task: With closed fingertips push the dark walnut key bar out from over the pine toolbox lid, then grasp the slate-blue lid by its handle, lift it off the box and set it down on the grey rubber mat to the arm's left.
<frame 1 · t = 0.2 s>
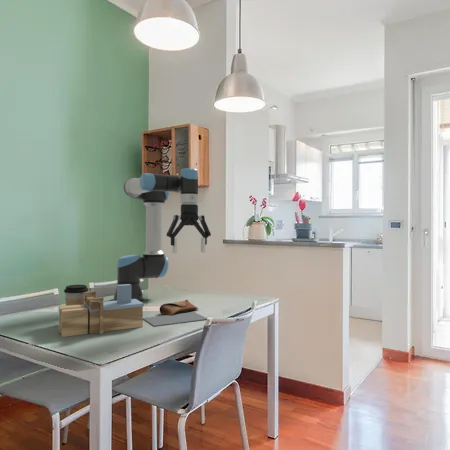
hand: (189, 252, 172), 28 cm above the table, fingers open, 13 cm apart
key: (91, 302, 151), point 11 cm above the table, slide at 0.0 cm
mat: (175, 319, 168), on the table
sunglasses case: (179, 311, 182), on the table, touching mat
toolbox: (113, 326, 155), on the table
lid: (113, 306, 155), point 8 cm above the table, touching toolbox
coffee cup: (76, 323, 161), on the table
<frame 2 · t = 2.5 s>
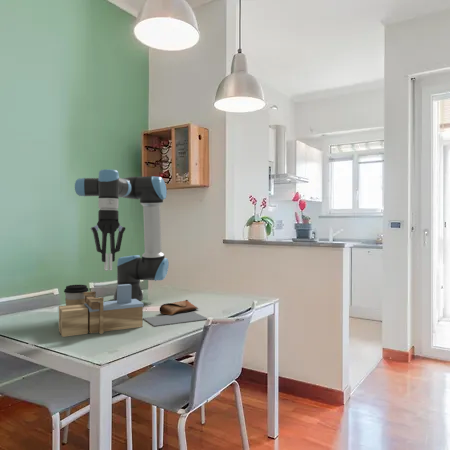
hand: (108, 270, 154), 22 cm above the table, fingers closed
nothing on the table moved.
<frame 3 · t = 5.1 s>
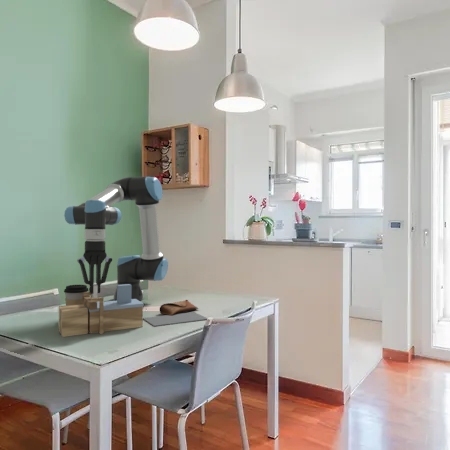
hand: (94, 301, 151), 11 cm above the table, fingers closed
key: (89, 302, 150), point 11 cm above the table, slide at 0.8 cm, touching gripper
everything else where it was.
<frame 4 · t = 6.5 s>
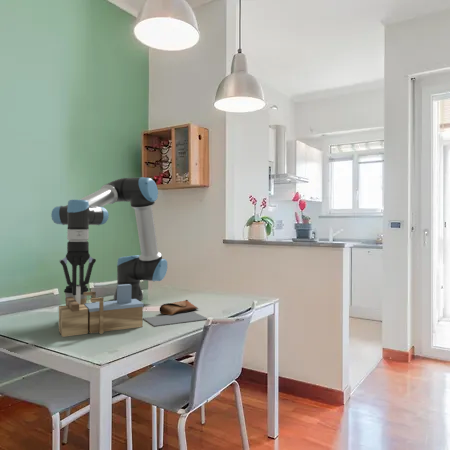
hand: (77, 303, 148), 10 cm above the table, fingers closed
key: (72, 303, 147), point 11 cm above the table, slide at 7.0 cm, touching gripper
everything else where it was.
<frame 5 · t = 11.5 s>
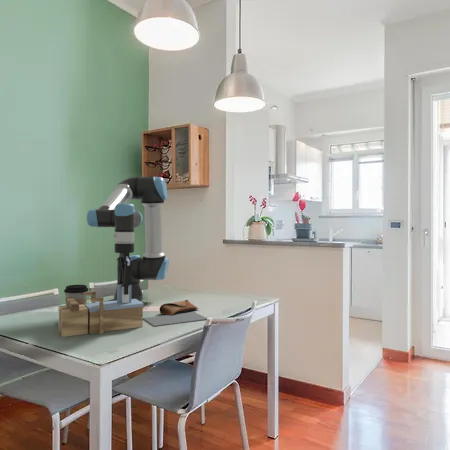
hand: (124, 301, 157), 10 cm above the table, fingers closed on lid, 3 cm apart
key: (72, 303, 147), point 11 cm above the table, slide at 7.1 cm
lid: (113, 306, 155), point 8 cm above the table, touching gripper
everything else where it was.
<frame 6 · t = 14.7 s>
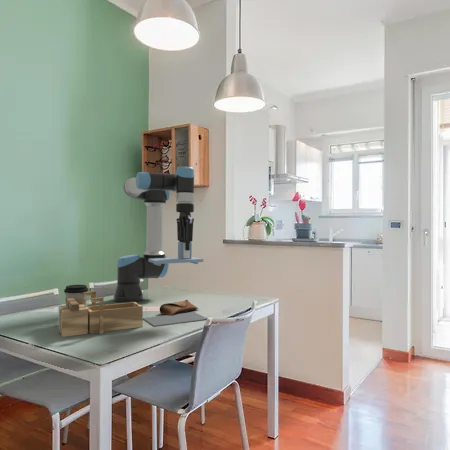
hand: (184, 257, 169), 26 cm above the table, fingers closed on lid, 3 cm apart
lid: (175, 261, 168), point 24 cm above the table, touching gripper
everything else where it was.
when the fingers open (5 cm above the table, at t = 18.0 s): lid drops 2 cm, resting on mat.
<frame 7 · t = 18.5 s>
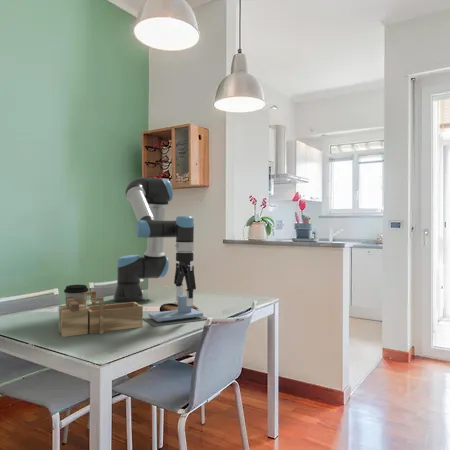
hand: (184, 303, 170), 6 cm above the table, fingers open, 10 cm apart
lid: (175, 315, 168), point 1 cm above the table, touching mat
everything else where it was.
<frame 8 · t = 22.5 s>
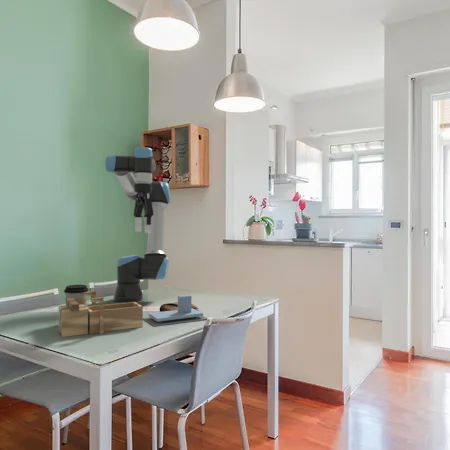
hand: (142, 232, 172), 37 cm above the table, fingers open, 13 cm apart
nothing on the table moved.
at the end: key slide at 7.1 cm; lid inside the target area (0.1 cm from its centre), point 1.4 cm above the table; lid tilted 0° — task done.
